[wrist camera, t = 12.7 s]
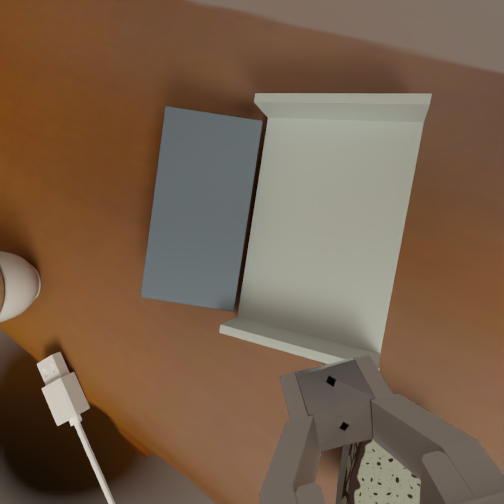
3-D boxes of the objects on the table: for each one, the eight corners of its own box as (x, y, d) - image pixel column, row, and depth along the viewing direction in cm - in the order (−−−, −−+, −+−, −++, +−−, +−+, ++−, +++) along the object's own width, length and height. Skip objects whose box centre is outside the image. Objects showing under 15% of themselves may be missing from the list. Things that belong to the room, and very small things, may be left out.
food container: (438, 421, 40) (351, 398, 42) (459, 450, 34) (356, 421, 36) (418, 524, 40) (332, 495, 42) (435, 571, 34) (334, 535, 36)
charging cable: (124, 535, 57) (110, 553, 53) (48, 360, 61) (30, 366, 57) (146, 528, 55) (132, 546, 52) (65, 349, 59) (48, 355, 56)
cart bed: (423, 119, 38) (431, 93, 32) (378, 356, 40) (377, 378, 34) (273, 115, 45) (255, 93, 38) (242, 320, 47) (219, 332, 40)
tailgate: (262, 120, 41) (165, 106, 41) (233, 311, 43) (140, 297, 43) (262, 126, 43) (170, 112, 44) (234, 307, 45) (146, 293, 45)
